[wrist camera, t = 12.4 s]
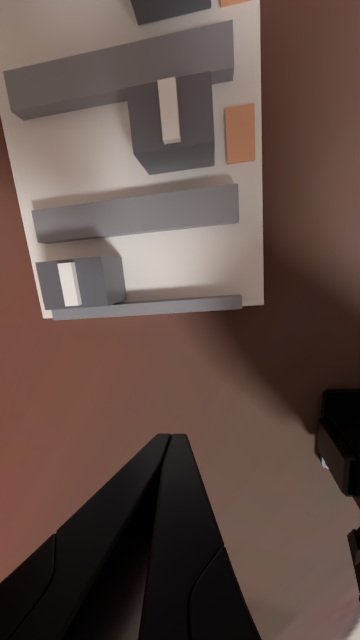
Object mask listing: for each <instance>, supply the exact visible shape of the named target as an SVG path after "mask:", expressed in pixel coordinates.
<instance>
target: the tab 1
mask: <svg viewBox="0 0 360 640" xmlns="http://www.w3.org/2000/svg"><path fill="white" fill-rule="evenodd" d="M35 264H36V268H37V273H38V278H39V283H40V288H41V292H42V297H43V302H44V307H45V310H57V309H72V308H86V307H101V306H110V305H112V304H114V303H117V302H119V301H121V300H123V299H126V298H127V295H126V287H125V280H124V273H123V265H122V258H121V257H112V256H97V257H86V258H76V259H66V260H56V261H46V262H35Z"/></svg>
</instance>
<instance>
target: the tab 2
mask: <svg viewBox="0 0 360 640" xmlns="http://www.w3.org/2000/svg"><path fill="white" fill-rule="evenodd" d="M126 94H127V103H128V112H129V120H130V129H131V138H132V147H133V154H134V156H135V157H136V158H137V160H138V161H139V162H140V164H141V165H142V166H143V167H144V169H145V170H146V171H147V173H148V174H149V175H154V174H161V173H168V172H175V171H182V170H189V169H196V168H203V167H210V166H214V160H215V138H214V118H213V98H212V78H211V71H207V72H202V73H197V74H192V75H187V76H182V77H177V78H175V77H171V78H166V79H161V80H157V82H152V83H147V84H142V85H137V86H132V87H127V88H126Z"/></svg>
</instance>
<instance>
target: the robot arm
mask: <svg viewBox="0 0 360 640" xmlns="http://www.w3.org/2000/svg"><path fill="white" fill-rule="evenodd" d="M332 395H333V398H331V399H328V398H329V397H330V396H332ZM317 448H318V450H319V452H320V462H321V464H322V466H323V467H324V468H326V469H329V470H330V472H331V474H332V476H333V477H334V479H335V481H336V483H337V485H338V487H339V488H340V490H341V492H342V493H343V494H344V495H345V496H348V497H353V499H354V500H355V502H356V504H357V506H358V507H359V509H360V389H330V390H326V391H325V392H324V393H323V396H322V417H320V418H319V420H318V436H317ZM347 537H348V542H349V547H350V551H351V556H352V560H353V565H354V569H355V574H356V579H357V583H358V588H359V592H360V527H359V528H358V529H357V530H355V529H353V530H352V531H351V532H350V533H349V534H348V535H347ZM359 601H360V595H359ZM0 640H261V637H260V635H259V633H258V630H257V628H256V626H255V623H254V621H253V619H252V616H251V614H250V612H249V609H248V607H247V605H246V602H245V600H244V597H243V594H242V592H241V589H240V586H239V584H238V581H237V578H236V576H235V573H234V570H233V568H232V565H231V562H230V559H229V556H228V553H227V550H226V548H225V547H224V542H223V539H222V536H221V533H220V530H219V527H218V525H217V522H216V519H215V516H214V513H213V510H212V507H211V504H210V501H209V498H208V495H207V492H206V489H205V487H204V484H203V481H202V478H201V475H200V472H199V469H198V466H197V463H196V460H195V457H194V454H193V451H192V449H191V446H190V443H189V440H188V437H187V435H186V434H173V435H171V434H157V435H156V436H155V437H154V438H153V439H152V440H151V441H150V442H148V443H147V444H146V445H145V446H144V447H143V448H142V449H141V450H140V451H139V452H138V453H137V454H136V455H135V456H134V457H133V458H132V459H131V460H130V461H129V462H128V463H127V464H126V465H125V466H123V467H122V468H121V469H120V470H119V471H118V472H117V473H116V474H115V475H114V476H113V477H112V478H111V479H110V480H109V481H108V482H107V483H106V484H105V485H104V486H103V487H102V488H101V489H99V490H98V491H97V492H96V493H95V494H94V495H93V496H92V497H91V498H90V499H89V500H88V501H87V502H86V503H85V504H84V505H83V506H82V507H81V508H80V509H79V510H78V511H77V512H76V513H74V514H73V515H72V516H71V517H70V518H69V519H68V520H67V521H66V522H65V523H64V524H63V525H62V526H61V527H60V528H59V529H58V530H57V532H56V534H52V535H51V536H50V537H49V538H48V539H47V540H46V541H45V542H44V543H43V544H42V545H41V546H40V547H39V548H38V549H37V550H36V551H35V552H34V553H32V554H31V555H30V556H29V557H28V558H27V559H26V560H25V561H24V562H23V563H22V564H21V565H19V566H18V567H17V568H16V569H15V570H14V571H13V572H12V573H11V574H10V575H9V576H8V577H6V578H5V579H4V580H3V581H2V582H1V583H0Z"/></svg>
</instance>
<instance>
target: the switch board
mask: <svg viewBox="0 0 360 640" xmlns="http://www.w3.org/2000/svg"><path fill="white" fill-rule="evenodd" d="M207 71H211V78H212V98H213V118H214V138H215V160H214V166H210V167H203V168H196V169H189V170H182V171H175V172H168V173H161V174H154V175H149V174H148V173H147V171H146V170H145V169H144V167H143V166H142V165H141V164H140V162H139V161H138V160H137V158H136V157H135V156H134V154H133V147H132V138H131V129H130V120H129V112H128V103H127V94H126V88H127V87H132V86H137V85H142V84H147V83H152V82H157V80H161V79H166V78H171V77H175V78H177V77H182V76H187V75H192V74H197V73H202V72H207ZM0 116H1V121H2V125H3V130H4V135H5V140H6V144H7V149H8V154H9V159H10V163H11V168H12V173H13V177H14V182H15V187H16V192H17V196H18V201H19V206H20V210H21V215H22V220H23V225H24V229H25V234H26V239H27V243H28V248H29V253H30V258H31V262H32V267H33V272H34V276H35V281H36V286H37V291H38V295H39V300H40V305H41V309H42V314H43V318H53V320H68V319H85V318H101V317H118V316H135V315H151V314H168V313H184V312H201V311H218V310H234V309H242V306H252V305H264V273H263V199H262V125H261V50H260V0H211V8H210V9H205V10H201V11H197V12H193V13H188V14H184V15H180V16H176V17H171V18H167V19H163V20H159V21H154V22H150V23H146V24H142V25H138V23H137V20H136V16H135V13H134V10H133V7H132V4H131V1H130V0H0ZM97 256H112V257H121V258H122V265H123V273H124V280H125V287H126V295H127V298H126V299H123V300H121V301H119V302H117V303H114V304H112V305H110V306H101V307H86V308H72V309H57V310H45V307H44V302H43V297H42V292H41V288H40V283H39V278H38V273H37V268H36V264H35V262H46V261H56V260H66V259H76V258H86V257H97Z"/></svg>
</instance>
